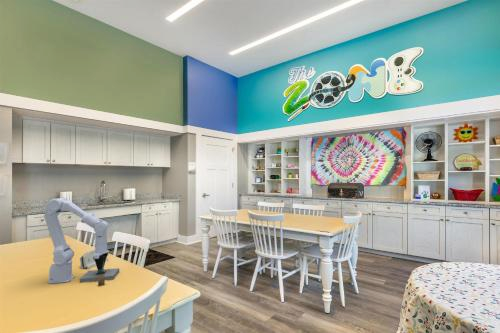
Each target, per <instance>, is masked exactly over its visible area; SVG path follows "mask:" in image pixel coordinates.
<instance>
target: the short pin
mask: <svg viewBox="0 0 500 333" xmlns="http://www.w3.org/2000/svg"><path fill="white" fill-rule="evenodd" d="M105 281H106V280H105V275H100V276H98V281H97V286H98V287H102V285H103V286H104V285H105Z"/></svg>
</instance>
